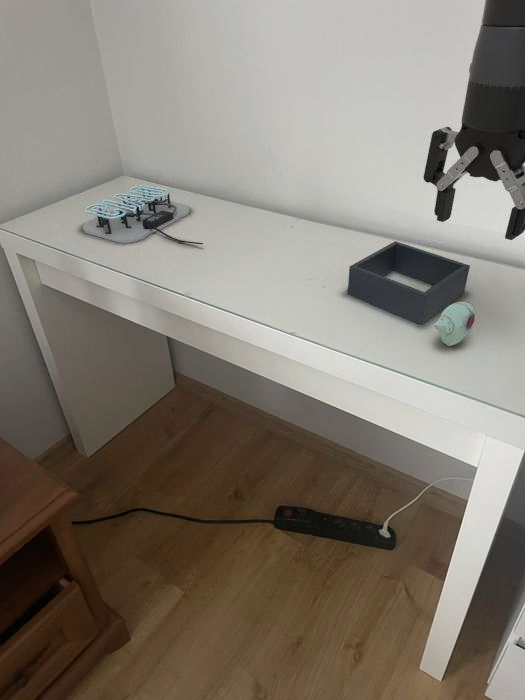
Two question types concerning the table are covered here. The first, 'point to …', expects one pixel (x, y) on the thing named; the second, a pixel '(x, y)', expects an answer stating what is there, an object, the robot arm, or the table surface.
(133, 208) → the neon sign
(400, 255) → the bin
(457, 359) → the table surface
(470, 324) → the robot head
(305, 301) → the table surface
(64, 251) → the table surface
